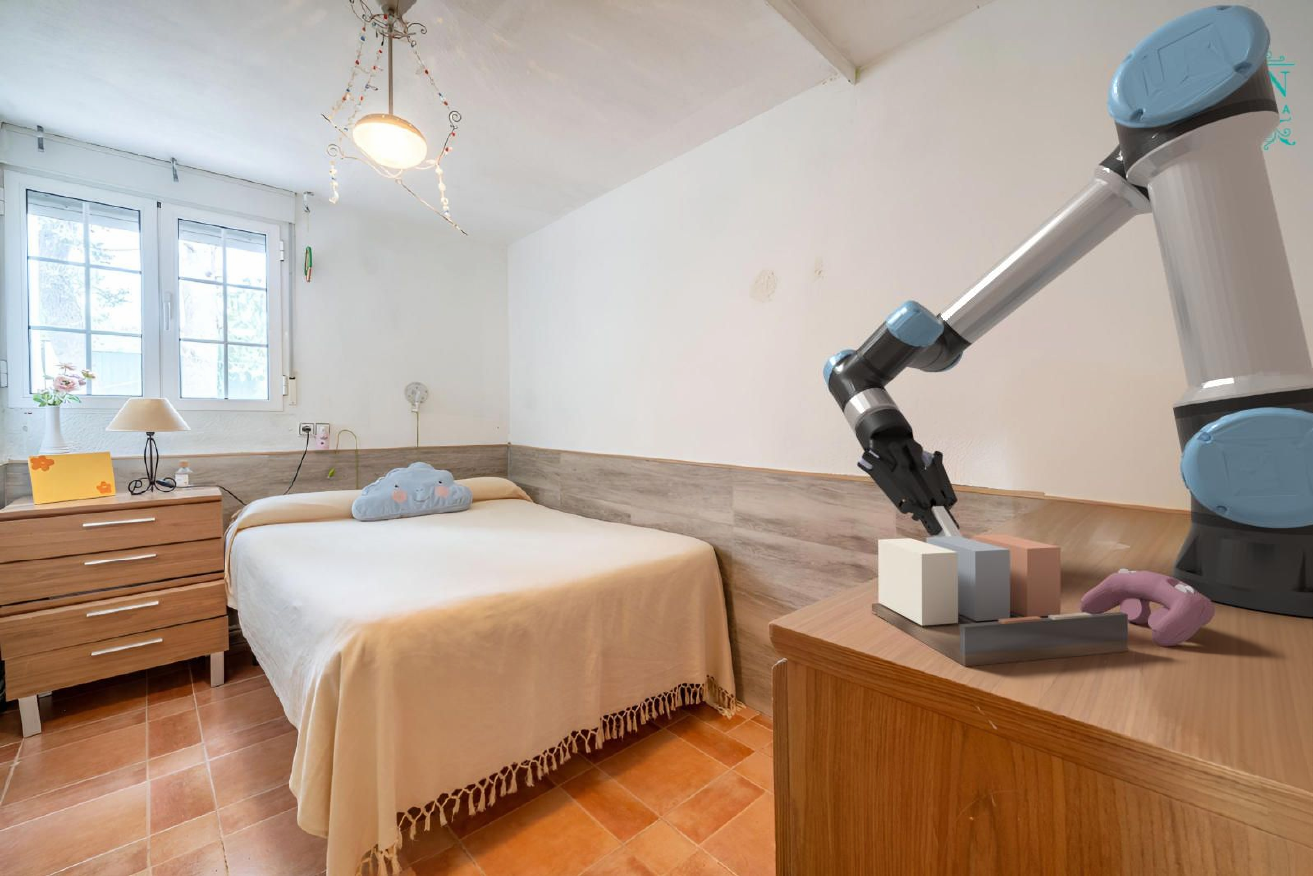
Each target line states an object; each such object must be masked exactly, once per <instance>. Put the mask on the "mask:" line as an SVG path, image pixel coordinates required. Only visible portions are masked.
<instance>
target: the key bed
mask: <svg viewBox="0 0 1313 876" xmlns="http://www.w3.org/2000/svg"><path fill="white" fill-rule="evenodd" d="M872 611H873V612H875V613H876V614H878V615H879V616H881V617H882V618H884V619H885V620H886V621H885V620H884V619H883V620H884V621H885V622H887V621H888V622H887V623H889V624H890V623H891V624H890V625H892V624H893V625H892V626H894V627H896V628H897V627H898V629H900V630H901V631H903V632H905V633H906V634H908V635H909V636H912V637H913V638H914V639H917V640H918V641H920V642H921V643H924V644H925V645H927V646H929V647H930V648H932V649H934V650H936V651H937V652H939V653H941V654H943V655H944V656H946V657H948V658H949V659H951V660H953V661H955V662H957V663H958V664H960V665H962V666H964V667H974V666H985V665H986V666H987V665H994V664H995V665H996V664H1004V663H1005V664H1006V663H1015V662H1016V663H1017V662H1018V663H1019V662H1028V661H1035V660H1037V661H1038V660H1040V661H1041V660H1049V659H1058V658H1059V659H1060V658H1069V657H1072V658H1073V657H1082V656H1090V655H1092V656H1093V655H1101V654H1111V653H1113V654H1114V653H1123V652H1129V643H1128V641H1129V640H1128V639H1129V631H1128V630H1129V627H1128V625H1129V624H1128V623H1129V621H1128V614H1126V613H1122V612H1120V611H1118V612H1117V611H1114V612H1104V613H1101V614H1088V613H1083V612H1074V613H1064V614H1062V613H1061V614H1059V615H1048V616H1039V617H1038V616H1033V617H1025V616H1022V615H1020V614H1017V613H1015V612H1012V611H1010V618H1007V619H997V620H984V621H974V620H972V619H970V618H967V617H965V616H963V615H961V614H959V613H958V623H949V624H936V625H923V626H922V625H920V624H918V623H916V622H914V621H912V620H911V619H909V618H907V617H905V616H903V615H901V614H899V613H897V612H896V611H894V610H892V609H890V608H888V607H886V606H884V605H882V604H880V603H879V602H877V603H871V612H872ZM882 618H881V619H882Z"/></svg>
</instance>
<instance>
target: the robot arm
mask: <svg viewBox="0 0 1313 876" xmlns="http://www.w3.org/2000/svg"><path fill="white" fill-rule="evenodd" d="M1270 45H1271V33H1270V31H1269V28H1268V26H1267V25H1266V22H1265V20H1264V19H1263V17H1262V16H1261V15H1260V14H1259V13H1258V12H1257V11H1255V10H1253V9H1252V8H1249V7H1247V6H1243V5H1238V4H1237V5H1230V4H1227V5H1226V4H1224V5H1223V4H1218V5H1217V4H1216V5H1210V6H1205V7H1202V8H1199V9H1198V8H1197V9H1195V10H1193V11H1190V12H1188V13H1185V14H1182V15H1180V16H1177V17H1176V18H1174V19H1171V20H1170V21H1168V22H1167V23H1165V24H1163V25H1161V26H1159V27H1158V28H1156V29H1155V30H1153V31H1152V32H1151V33H1150V34H1148V35H1147V36H1145V37H1144V38H1143V39H1142V40H1141V41H1140V42H1139V43H1137V44H1136V45H1135V46H1134V48H1132V49H1131V51H1130V52H1128V53H1127V56H1125V58H1124V59H1123V60H1122V62H1121V63H1120V64H1119V65H1118V67H1117V68H1116V70H1115V72H1114V74H1113V76H1112V78H1111V81H1110V84H1109V88H1108V92H1107V94H1108V95H1107V97H1108V98H1107V105H1106V106H1107V111H1108V113H1109V115H1110V117H1111V118H1112V119H1113V121H1114V125H1115V130H1116V132H1117V133H1116V134H1117V138H1118V142H1119V143H1118V144H1117V146H1116V147H1115V149H1114V150H1113V151H1112V152H1110V154H1109V155H1107V157H1106V158H1105V159H1104V160H1102V161H1101V162H1100V163H1098V165H1097V166H1095V168H1094V172H1093V177H1092V179H1091V180H1090V181H1089V182H1088V183H1087V184H1086V185H1084V186H1083V187H1082V188H1081V189H1080V190H1079V191H1078V192H1077V193H1076V194H1074V195H1073V196H1072V197H1071V198H1069V200H1067V201H1066V202H1065V203H1064V204H1062V205H1061V206H1060V208H1059V209H1057V210H1056V211H1054V212H1053V213H1052V215H1050V216H1049V217H1048V218H1046V220H1044V221H1043V222H1042V223H1041V224H1040V225H1038V226H1037V227H1036V228H1035V229H1034V230H1033V231H1032V232H1031V233H1029V234H1028V235H1027V236H1026V237H1024V238H1023V240H1022V241H1020V242H1019V243H1018V244H1017V245H1016V246H1014V247H1012V249H1011V250H1010V251H1009V252H1008V253H1006V255H1004V256H1003V257H1002V258H1000V260H998V261H997V262H996V263H995V264H994V265H992V267H990V268H989V269H988V270H987V271H986V272H985V273H983V275H981V276H980V277H979V278H978V279H977V280H976V281H974V282H973V283H972V284H971V285H970V286H968V287H967V288H966V289H965V290H964V291H963V292H962V293H960V295H958V296H957V297H955V299H954V300H953V301H951V302H950V303H949V304H948V305H947V306H945V308H943V309H942V310H941V311H940V312H939V313H938V314H936V315H935V314H934V313H933V312H932V311H931V310H930V309H928V308H927V307H925V306H924V305H922V304H921V303H920V302H918V301H915V300H911V299H910V300H906V301H905V302H903V303H902V304H901V305H900V306H899V307H898V308H897V309H895V310H894V311H893V312H892V313H890V314H889V315H888V316H887V318H886V319H885V320H884V321H883V322H882V323H881V325H879V326H878V328H877V329H875V331H874V332H873V333H872V334H871V335H870V336H869V337H867V339H866V340H865V341H864V342H863V344H861V346H859V348H857V349H850V348H849V349H847V348H846V349H843V350H841V351H839V352H838V353H836V354H833V355H832V356H830V357H829V358H828V359H827V361H826V362H825V364H824V367H823V370H822V375H823V379H824V381H825V383H826V385H827V389H828V391H829V393H830V395H831V397H833V398H834V399H835V402H836V403H837V405H838V407H839V409H840V410H841V412H842V413H843V416H844V418H845V419H846V422H848V425H849V426H850V428H851V430H852V432H853V433H854V434H855V437H856V439H857V441H858V442H859V445H860V447H861V448H862V450H863V451H864V452H863V453H862V455H861V456H860V458H859V460H858V462H857V463H856V466H857V467H858V468H859V469H861V470H862V471H864V472H865V474H867V475H869V476H870V478H871V479H872V480H873V482H875V484H876V485H877V486H878V487H879V488H880V490H881V491H882V493H884V495H886V497H887V498H888V499H889V500H890V501H891V503H892V504H893V505H894V507H896V508H897V510H898V511H899V512H900V513H901V514H903V515H907V514H909V513H910V514H912V516H911V517H910V519H912V520H913V521H915V522H918V521H920V522H921V524H922V525H923V528H924V529H925V530H926V533H928V534H929V536H930V537H948V536H959V537H963V538H964V536H963V534H962V533H961V532H960V525H959V524H958V522H957V520H956V519H955V517H954V515H953V514H952V512H951V510H952V508H953V507H954V506H955V504H956V503H957V502H958V498H957V495H956V493H955V489H954V488H953V485H952V483H951V481H950V478H949V476H948V473H947V471H946V468H945V466H944V463H943V459H944V454H943V452H942V451H940V450H935V451H934V452H933V453H931V452H929V451H926V450H924V447H923V446H922V445H921V443H918V441H916V440H915V437H914V431H913V427H912V426H911V424H910V423H909V422H908V420H907V419H906V417H905V416H904V414H903V413H902V412H901V410H900V408H899V406H898V405H897V404H896V402H895V401H894V399H893V398H892V396H891V395H890V394H889V392H888V391H887V389H886V388H885V387H886V386H887V385H889V383H891V381H893V380H894V379H896V377H897V376H899V375H900V374H901V372H903V371H904V370H905V369H906V368H911V369H917V370H920V371H923V372H924V373H925V372H926V373H944V372H947V371H950V370H952V369H953V368H954V367H956V366H957V365H958V363H959V362H960V361H961V359H962V358H963V354H964V351H965V350H968V349H969V347H970V346H972V345H974V343H975V342H977V341H978V340H979V339H981V338H982V337H983V336H984V335H986V334H987V333H988V332H989V331H990V330H993V328H995V327H996V326H997V325H999V324H1000V323H1001V322H1002V321H1004V320H1005V319H1006V318H1007V317H1009V315H1011V314H1012V313H1014V312H1015V311H1016V310H1017V309H1019V308H1020V307H1021V306H1023V304H1025V303H1026V302H1028V301H1029V300H1030V299H1032V298H1033V297H1034V296H1035V295H1037V294H1038V293H1040V291H1041V290H1043V289H1044V288H1045V287H1046V286H1048V285H1049V284H1051V283H1053V281H1054V280H1056V279H1057V278H1058V277H1059V276H1061V275H1062V274H1063V273H1065V272H1066V271H1067V270H1069V268H1071V267H1072V266H1074V265H1075V264H1077V262H1079V261H1080V260H1081V259H1082V258H1083V257H1085V256H1086V255H1088V254H1089V253H1090V252H1091V251H1092V250H1094V249H1095V248H1096V247H1098V246H1099V245H1100V244H1102V243H1103V242H1104V241H1105V240H1106V239H1108V238H1109V237H1110V236H1111V235H1113V234H1114V233H1115V232H1117V231H1118V230H1119V229H1121V228H1122V227H1123V226H1125V225H1126V224H1127V223H1128V222H1129V221H1130V220H1132V219H1133V218H1135V217H1136V216H1138V215H1145V214H1151V213H1152V218H1153V222H1154V227H1155V231H1156V237H1157V241H1158V247H1159V251H1160V256H1161V261H1162V262H1161V263H1162V265H1163V266H1162V267H1163V271H1164V274H1165V280H1166V286H1167V291H1168V295H1169V299H1170V305H1171V311H1172V314H1173V320H1174V324H1175V328H1176V332H1177V333H1176V334H1177V338H1178V339H1177V340H1178V343H1179V349H1180V355H1181V358H1182V363H1183V369H1184V371H1185V373H1184V374H1185V378H1186V382H1187V383H1186V384H1187V389H1186V391H1185V392H1184V393H1183V395H1181V396H1179V398H1178V399H1177V400H1175V402H1174V403H1173V404H1172V409H1173V410H1172V411H1173V416H1174V421H1175V426H1176V427H1175V428H1176V430H1177V438H1178V440H1179V447H1180V452H1181V460H1180V463H1179V470H1180V476H1181V479H1182V482H1183V485H1184V486H1185V488H1186V489H1187V490H1189V494H1190V527H1189V531H1188V533H1187V536H1186V537H1185V539H1184V542H1183V543H1182V545H1181V548H1180V549H1179V552H1178V554H1177V557H1176V559H1175V560H1174V563H1173V565H1172V566H1171V577H1172V578H1175V579H1177V580H1179V581H1181V582H1184V583H1185V584H1187V585H1189V586H1191V587H1192V588H1194V589H1195V590H1196V591H1198V592H1199V593H1200V594H1202V595H1204V596H1205V597H1207V598H1208V599H1209V600H1210V601H1213V602H1214V601H1215V602H1219V603H1223V604H1227V605H1231V606H1237V607H1242V608H1246V609H1252V610H1258V611H1264V612H1270V613H1277V614H1283V615H1284V614H1285V615H1292V616H1300V617H1309V618H1310V617H1311V618H1312V617H1313V363H1312V359H1311V356H1310V351H1309V346H1308V343H1307V342H1308V341H1307V339H1306V334H1305V329H1304V326H1303V321H1302V316H1301V311H1300V307H1299V304H1298V300H1297V295H1296V290H1295V286H1294V282H1293V278H1292V273H1291V269H1290V265H1289V259H1288V256H1287V251H1286V247H1285V243H1284V239H1283V235H1282V231H1281V226H1280V222H1279V217H1278V213H1277V209H1276V208H1277V207H1276V204H1275V201H1274V194H1273V191H1272V187H1271V182H1270V178H1269V173H1268V170H1267V166H1266V161H1265V156H1264V152H1263V148H1262V145H1263V144H1264V143H1265V141H1266V140H1268V138H1269V137H1271V135H1272V134H1273V132H1274V131H1276V129H1277V128H1278V126H1279V125H1280V123H1281V118H1280V114H1279V113H1280V112H1279V110H1278V104H1277V100H1276V99H1277V98H1276V96H1275V91H1274V87H1273V82H1272V77H1271V74H1270V70H1269V64H1268V58H1267V54H1268V53H1269V49H1270Z"/></svg>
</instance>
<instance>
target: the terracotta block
mask: <svg viewBox="0 0 1313 876" xmlns="http://www.w3.org/2000/svg"><path fill="white" fill-rule="evenodd" d="M972 540H975V541H979V542H982V543H986V544H990V545H994V546H998V547H1002V548H1006V549H1010V611H1012V612H1015V613H1017V614H1020V615H1022V616H1025V617H1033V616H1038V617H1039V616H1048V615H1059V614H1062V613H1061V612H1062V611H1061V602H1062V601H1061V597H1062V596H1061V591H1062V590H1061V586H1062V585H1061V546H1056V545H1052V544H1048V543H1043V542H1039V541H1034V540H1030V539H1026V538H1022V537H1017V536H1012V535H1007V534H1003V533H1001V534H979V535H978V534H977V535H972Z"/></svg>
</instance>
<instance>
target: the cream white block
mask: <svg viewBox="0 0 1313 876" xmlns="http://www.w3.org/2000/svg"><path fill="white" fill-rule="evenodd" d="M877 540H878V544H877V545H878V548H877V549H878V550H877V551H878V558H877V559H878V560H877V561H878V563H877V564H878V570H877V572H878V581H877V582H878V583H877V584H878V585H877V586H878V587H877V589H878V591H877V593H878V600H877V601H878V603H880V604H882V605H884V606H886V607H888V608H890V609H892V610H894V611H896V612H897V613H899V614H901V615H903V616H905V617H907V618H909V619H911V620H912V621H914V622H916V623H918V624H920V625H922V626H923V625H936V624H949V623H958V552H955V551H952V550H949V549H945V548H942V547H939V546H935V545H932V544H928V543H926V541H925V542H924V541H921V540H919V539H914V538H911V537H909V538H908V537H907V538H886V539H884V538H883V539H877Z"/></svg>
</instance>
